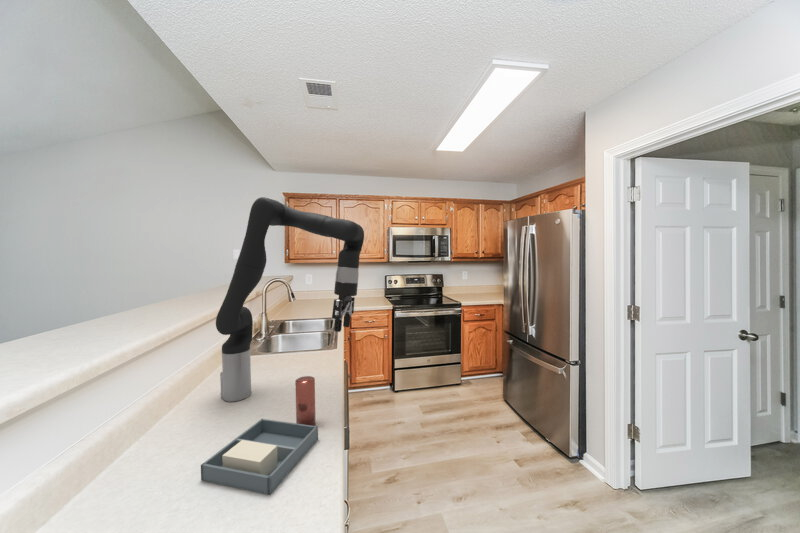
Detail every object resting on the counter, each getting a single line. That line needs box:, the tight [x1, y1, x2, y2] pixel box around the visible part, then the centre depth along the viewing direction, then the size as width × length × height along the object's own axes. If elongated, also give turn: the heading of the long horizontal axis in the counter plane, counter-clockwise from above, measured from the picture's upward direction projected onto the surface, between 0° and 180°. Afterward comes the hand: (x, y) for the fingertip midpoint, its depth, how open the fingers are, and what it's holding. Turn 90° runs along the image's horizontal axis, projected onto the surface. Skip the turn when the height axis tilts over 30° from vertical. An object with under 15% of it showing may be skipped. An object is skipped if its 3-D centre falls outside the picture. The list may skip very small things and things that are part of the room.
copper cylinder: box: [294, 375, 316, 426], centre depth 91 cm, size 6×6×14 cm
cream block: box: [222, 440, 278, 476], centre depth 70 cm, size 10×6×5 cm, turn 76°
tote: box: [200, 418, 319, 496], centre depth 75 cm, size 18×20×4 cm
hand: (342, 329), depth 100 cm, fingers open, 8 cm apart
